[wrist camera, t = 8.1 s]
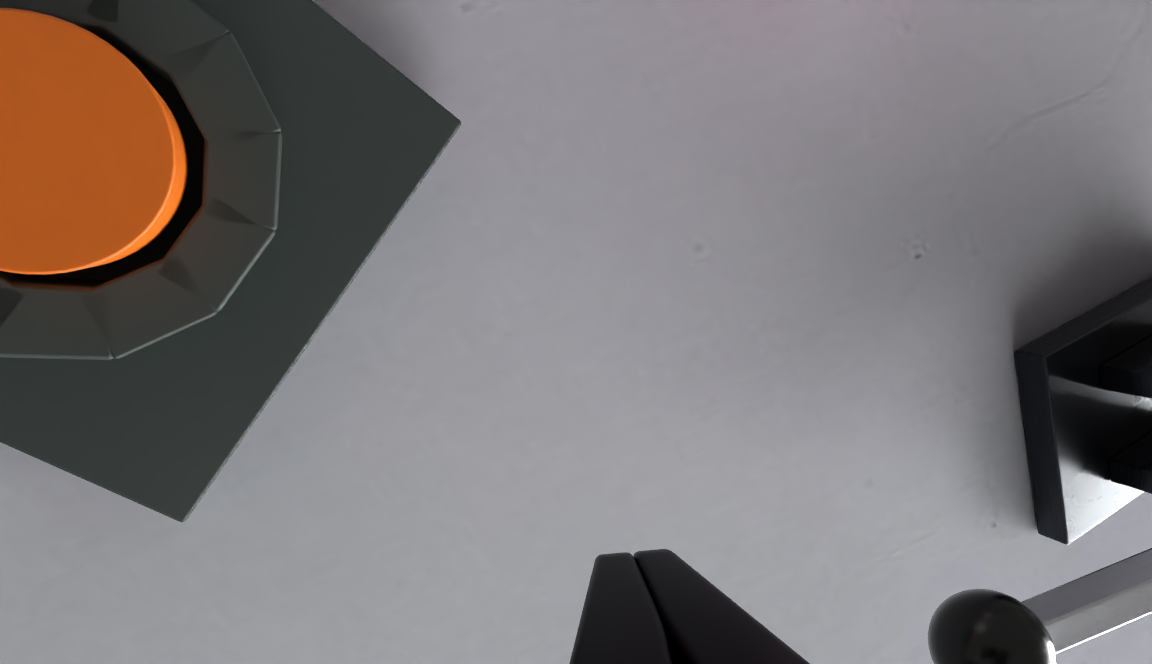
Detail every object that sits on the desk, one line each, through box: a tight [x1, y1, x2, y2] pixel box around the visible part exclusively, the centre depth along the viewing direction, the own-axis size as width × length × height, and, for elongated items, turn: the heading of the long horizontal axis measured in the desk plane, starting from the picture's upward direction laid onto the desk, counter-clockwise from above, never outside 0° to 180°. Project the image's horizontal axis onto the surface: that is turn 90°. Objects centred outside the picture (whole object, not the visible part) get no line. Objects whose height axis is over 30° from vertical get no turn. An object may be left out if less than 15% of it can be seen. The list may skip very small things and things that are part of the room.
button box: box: [0, 0, 461, 522], centre depth 13 cm, size 10×10×4 cm
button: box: [0, 8, 188, 274], centre depth 11 cm, size 4×4×2 cm
